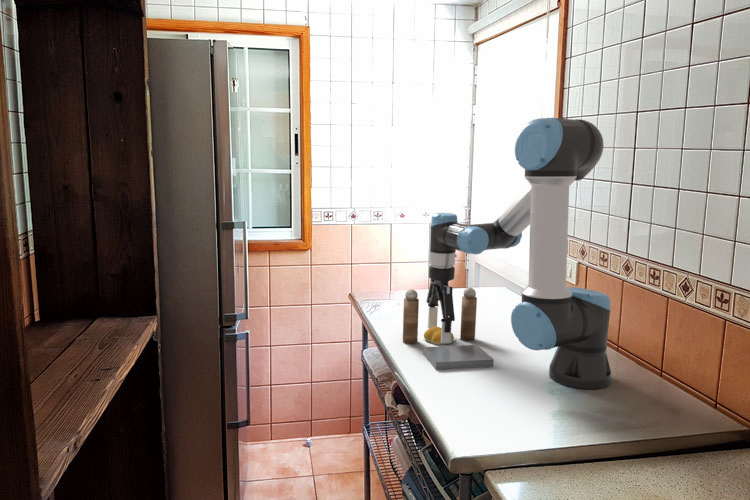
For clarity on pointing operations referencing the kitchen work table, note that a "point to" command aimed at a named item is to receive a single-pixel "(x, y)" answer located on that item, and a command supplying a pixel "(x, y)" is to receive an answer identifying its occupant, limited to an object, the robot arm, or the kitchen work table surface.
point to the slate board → (457, 357)
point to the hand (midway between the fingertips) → (438, 334)
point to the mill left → (410, 317)
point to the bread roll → (435, 336)
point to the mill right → (468, 315)
